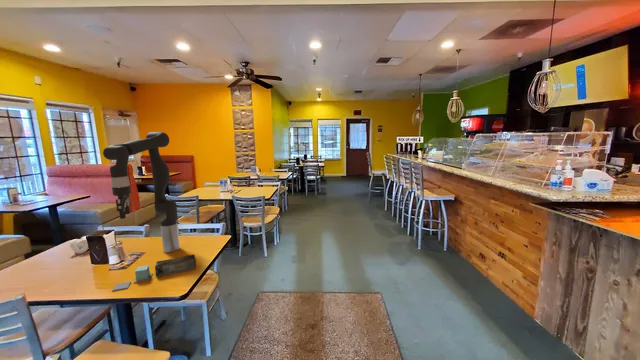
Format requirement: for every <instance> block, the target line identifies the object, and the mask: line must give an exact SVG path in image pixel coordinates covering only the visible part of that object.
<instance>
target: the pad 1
mask: <svg viewBox="0 0 640 360" xmlns="http://www.w3.org/2000/svg"><path fill="white" fill-rule="evenodd" d="M130 285H131V281H126V282H121V283H116V284H115V285H114V287H113V288H112V291H111V292H116V291H121V290H127V289H128V288H129V286H130Z"/></svg>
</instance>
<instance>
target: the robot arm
mask: <svg viewBox="0 0 640 360" xmlns="http://www.w3.org/2000/svg"><path fill="white" fill-rule="evenodd" d="M169 144H170V137H169V135H168V134H167V133H166V132H164V131H151V132H148V133H147V134H146V137H145V138H141V139H135V140H130V141H127V142H124V143H118V144H113V145H108V146H106V147H105V148H104V149H103V151H102V154H103V157H104V158H105V159H106V160H109V161H115V164H112V165H111V166H110V167H109V173H110V185H111V190H112V196H114V197H117V199H115V203H116V204H115V206H116V212H118V213H119V219H120V220H123V219H124V220H125V219H126V218H127V217H126V215H130V214H131V210H130V209H131V208H130V206H131V199H130V194H131V193H132V190H131V182H130V179H129V172H128V164H129V159H130V156H135V155H137V154H139V153H143V152H145V151H148V154H149V159H150V160H149V161H150V167H151V175H152V182H153V189H154V192H153V193H154V208H155V209H154V210H155V212H156V213H157V214H158V215H165V217H166V218H163V219H161V220H160V222H159V223H160V224H159V225H160V233H161V243H162V249H163V252H164V253H173V252H177V251H178V250H180V242H179V241H180V240H179V232H178V231H179V230H178V221H177V220H178V205H177V202H176V201H175V200H174V199H166V197H165V195H166V194H165V191H166V188H167V187H168V185H169V182H170V180H171V175H170V168H169V166H168V165H167V164H166V161H164V160H163V158H162V156H161V155H160V151H159V149H160V148H165V147H168V145H169Z"/></svg>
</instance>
